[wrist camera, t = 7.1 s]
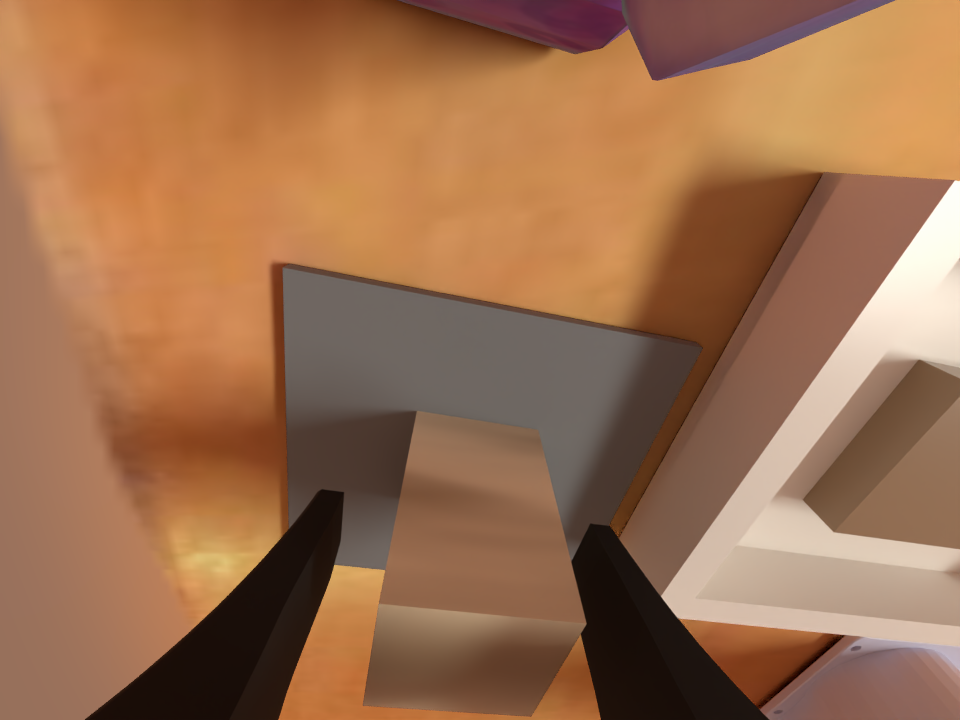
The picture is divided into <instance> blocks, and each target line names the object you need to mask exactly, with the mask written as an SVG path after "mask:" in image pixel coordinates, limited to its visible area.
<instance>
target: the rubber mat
mask: <svg viewBox="0 0 960 720" xmlns="http://www.w3.org/2000/svg"><path fill="white" fill-rule="evenodd" d="M283 302H284V345H285V387H286V430H287V472H288V515H289V528H290V527H291V526H292V525H293V523H294V522H295V521H296V520H297V518H298V517H299V516H300V515H301V513H302V512H303V511H304V509H305V508H306V507H307V505H308V504H309V503H310V501H311V500H312V499H313V497H314V496H315V494H316V493H317V492H318V491H319V490H321V489H324V490H332V491H340V492H344V503H343V518H342V532H341V542H340V546H339V549H338V553H337V557H336V560H335V564H334V565H343V566H352V567H362V568H371V569H381V570H386V565H387V560H388V555H389V550H390V545H391V540H392V535H393V529H394V524H395V519H396V514H397V509H398V504H399V499H400V494H401V489H402V484H403V479H404V474H405V469H406V464H407V459H408V454H409V449H410V444H411V438H412V433H413V428H414V423H415V418H416V413H417V411H422V412H428V413H434V414H441V415H447V416H454V417H460V418H466V419H473V420H479V421H485V422H492V423H498V424H504V425H511V426H517V427H523V428H530V429H536V430H538V431H539V435H540V439H541V443H542V447H543V451H544V455H545V459H546V463H547V467H548V471H549V475H550V479H551V483H552V487H553V491H554V495H555V499H556V503H557V507H558V511H559V515H560V519H561V523H562V527H563V531H564V535H565V539H566V543H567V547H568V551H569V555H570V559H571V561H572V559H573V557H574V555H575V553H576V551H577V549H578V547H579V545H580V543H581V541H582V539H583V537H584V535H585V533H586V531H587V529H588V527H589V525H590V523H591V524H599V525H606V526H609V524H610V522H611V520H612V519H613V517H614V515H615V513H616V511H617V509H618V507H619V505H620V503H621V502H622V500H623V498H624V496H625V494H626V492H627V490H628V488H629V486H630V485H631V483H632V481H633V479H634V477H635V475H636V473H637V471H638V470H639V468H640V466H641V464H642V462H643V460H644V458H645V456H646V454H647V453H648V451H649V449H650V447H651V445H652V443H653V441H654V439H655V437H656V436H657V434H658V432H659V430H660V428H661V426H662V424H663V422H664V420H665V419H666V417H667V415H668V413H669V411H670V409H671V407H672V405H673V404H674V402H675V400H676V398H677V396H678V394H679V392H680V390H681V388H682V387H683V385H684V383H685V381H686V379H687V377H688V375H689V373H690V371H691V370H692V368H693V366H694V364H695V362H696V360H697V358H698V356H699V354H700V353H701V351H702V349H703V348H702V347H701V346H700V345H699V344H698V343H696V342H692V341H687V340H682V339H677V338H672V337H666V336H661V335H656V334H651V333H646V332H640V331H635V330H630V329H625V328H620V327H615V326H609V325H604V324H599V323H594V322H589V321H583V320H578V319H573V318H568V317H563V316H557V315H552V314H547V313H542V312H537V311H532V310H526V309H521V308H516V307H511V306H506V305H500V304H495V303H490V302H485V301H480V300H475V299H469V298H464V297H459V296H454V295H449V294H443V293H438V292H433V291H428V290H423V289H418V288H412V287H407V286H402V285H397V284H392V283H386V282H381V281H376V280H371V279H366V278H361V277H355V276H350V275H345V274H340V273H335V272H329V271H324V270H319V269H314V268H309V267H303V266H298V265H293V264H288V265H286V266H284V267H283Z"/></svg>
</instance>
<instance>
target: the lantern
mask: <svg viewBox="0 0 960 720" xmlns="http://www.w3.org/2000/svg"><path fill="white" fill-rule="evenodd" d="M398 1H401V2H404V3H408V4H411V5H414V6H418V7H421V8H424V9H428V10H431V11H434V12H437V13H441V14H444V15H447V16H451V17H454V18H457V19H461V20H464V21H467V22H470V23H474V24H477V25H480V26H484V27H487V28H490V29H494V30H497V31H500V32H503V33H507V34H510V35H513V36H517V37H520V38H523V39H527V40H530V41H533V42H537V43H540V44H543V45H546V46H550V47H553V48H556V49H560V50H563V51H566V52H570V53H573V54H578V53H583V52H587V51H592V50H596V49H601V48H603V47H604V46H606V45H607V44H609V43H610V42H611V41H613V40H614V39H616V38H617V37H618V36H620V35H621V34H623V33H624V32H625V31H627V30H628V29H629V30H630V32H631V34H632V36H633V38H634V41H635V43H636V45H637V47H638V49H639V52H640V54H641V56H642V58H643V60H644V63H645V65H646V67H647V69H648V72H649V74H650V76H651V78H652V80H657V81H658V80H662V79H667V78H671V77H675V76H679V75H683V74H688V73H692V72H696V71H700V70H705V69H709V68H714V67H718V66H723V65H727V64H732V63H736V62H741V61H746V60H750V59H752V58H755V57H757V56H760V55H762V54H765V53H767V52H770V51H772V50H774V49H777V48H779V47H782V46H784V45H787V44H789V43H792V42H794V41H797V40H799V39H801V38H804V37H806V36H809V35H811V34H814V33H816V32H819V31H821V30H823V29H826V28H828V27H831V26H833V25H836V24H838V23H841V22H843V21H846V20H848V19H850V18H853V17H855V16H858V15H860V14H863V13H865V12H868V11H870V10H873V9H875V8H877V7H880V6H882V5H885V4H887V3H890V2H892V1H895V0H398Z"/></svg>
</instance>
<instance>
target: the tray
mask: <svg viewBox="0 0 960 720" xmlns="http://www.w3.org/2000/svg"><path fill="white" fill-rule="evenodd" d="M619 540H620V541H621V542H622V544H623V545H624V547H625V548H626V549H627V551H628V552H629V554H630V555H631V556H632V558H633V559H634V561H635V562H636V563H637V565H638V566H639V568H640V569H641V570H642V572H643V573H644V574H645V576H646V577H647V579H648V580H649V581H650V583H651V584H652V585H653V587H654V588H655V589H656V591H657V592H658V593H659V595H660V596H661V597H662V599H663V600H664V601H665V603H666V604H667V605H668V606H669V608H670V609H671V610H672V612H673V613H674V614H675V615H676V617H677V618H680V619H690V620H700V621H710V622H720V623H730V624H740V625H750V626H760V627H770V628H780V629H790V630H800V631H810V632H820V633H830V634H840V635H850V636H860V637H870V638H881V639H891V640H901V641H911V642H921V643H931V644H941V645H951V646H960V181H956V180H942V179H926V178H909V177H893V176H877V175H860V174H844V173H827V172H824V173H823V175H822V177H821V178H820V180H819V182H818V184H817V186H816V187H815V189H814V191H813V193H812V195H811V196H810V198H809V200H808V202H807V203H806V205H805V207H804V209H803V211H802V212H801V214H800V216H799V218H798V220H797V221H796V223H795V225H794V227H793V228H792V230H791V232H790V234H789V236H788V237H787V239H786V241H785V243H784V245H783V246H782V248H781V250H780V252H779V253H778V255H777V257H776V259H775V261H774V262H773V264H772V266H771V268H770V269H769V271H768V273H767V275H766V277H765V278H764V280H763V282H762V284H761V286H760V287H759V289H758V291H757V293H756V294H755V296H754V298H753V300H752V302H751V303H750V305H749V307H748V309H747V311H746V312H745V314H744V316H743V318H742V319H741V321H740V323H739V325H738V327H737V328H736V330H735V332H734V334H733V336H732V337H731V339H730V341H729V343H728V344H727V346H726V348H725V350H724V352H723V353H722V355H721V357H720V359H719V361H718V362H717V364H716V366H715V368H714V369H713V371H712V373H711V375H710V377H709V378H708V380H707V382H706V384H705V386H704V387H703V389H702V391H701V393H700V394H699V396H698V398H697V400H696V402H695V403H694V405H693V407H692V409H691V411H690V412H689V414H688V416H687V418H686V419H685V421H684V423H683V425H682V427H681V428H680V430H679V432H678V434H677V436H676V437H675V439H674V441H673V443H672V444H671V446H670V448H669V450H668V452H667V453H666V455H665V457H664V459H663V461H662V462H661V464H660V466H659V468H658V469H657V471H656V473H655V475H654V477H653V478H652V480H651V482H650V484H649V485H648V487H647V489H646V491H645V493H644V494H643V496H642V498H641V500H640V502H639V503H638V505H637V507H636V509H635V510H634V512H633V514H632V516H631V518H630V519H629V521H628V523H627V525H626V527H625V528H624V530H623V532H622V534H621V535H620V537H619Z"/></svg>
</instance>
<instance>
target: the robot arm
mask: <svg viewBox="0 0 960 720" xmlns="http://www.w3.org/2000/svg"><path fill="white" fill-rule="evenodd" d="M343 503H344V492H340V491H332V490H324V489H321V490H319V491H318V492H317V493H316V494H315V496H314V497H313V499H312V500H311V501H310V503H309V504H308V505H307V507H306V508H305V509H304V511H303V512H302V513H301V515H300V516H299V517H298V518H297V520H296V521H295V522H294V523H293V525H292V526H291V527H290V528H289V529H288V531H287V532H286V533H285V534H284V535H283V537H282V538H281V539H280V540H279V541H278V542H277V543H276V545H275V546H274V547H273V548H272V549H271V550H270V551H269V553H268V554H267V555H266V556H265V557H264V558H263V559H262V560H261V562H260V563H259V564H258V565H257V566H256V567H255V568H254V569H253V570H252V571H251V572H250V573H249V574H248V575H247V576H246V577H245V578H244V579H243V581H242V582H241V583H240V584H239V585H238V586H237V587H236V588H235V589H234V590H233V591H232V592H231V593H230V594H229V595H228V596H227V597H226V598H225V599H224V600H223V601H222V602H221V603H220V604H219V605H218V606H217V607H216V608H215V609H214V610H213V611H212V612H211V613H210V614H209V615H207V616H206V617H205V618H204V619H203V620H202V621H201V622H200V623H199V624H198V625H197V626H196V627H195V628H193V629H192V630H191V631H190V632H189V633H188V634H187V635H186V636H185V637H184V638H182V639H181V640H180V641H179V642H178V643H177V644H176V645H175V646H173V647H172V648H171V649H170V650H169V651H168V652H167V653H166V654H164V655H163V656H162V657H161V658H160V659H159V660H158V661H156V662H155V663H154V664H153V665H152V666H150V667H149V668H148V669H147V670H146V671H145V672H143V673H142V674H141V675H140V676H139V677H138V678H136V679H135V680H134V681H133V682H131V683H130V684H129V685H128V686H127V687H125V688H124V689H123V690H121V691H120V692H119V693H118V694H117V695H115V696H114V697H113V698H111V699H110V700H109V701H108V702H106V703H105V704H104V705H103V706H102V707H100V708H99V709H98V710H97V711H95V712H94V713H93V714H91V715H90V716H89V717H88V718H86V719H85V720H278V719H279V716H280V713H281V709H282V706H283V703H284V700H285V696H286V693H287V690H288V688H289V685H290V682H291V679H292V676H293V673H294V671H295V668H296V666H297V663H298V660H299V658H300V655H301V653H302V650H303V648H304V645H305V643H306V640H307V637H308V635H309V632H310V630H311V627H312V625H313V622H314V619H315V617H316V614H317V612H318V609H319V607H320V604H321V601H322V599H323V596H324V594H325V591H326V589H327V586H328V583H329V581H330V578H331V574H332V571H333V567H334V564H335V560H336V557H337V553H338V549H339V546H340V542H341V532H342V518H343ZM571 563H572V567H573V571H574V575H575V579H576V583H577V587H578V591H579V595H580V599H581V603H582V607H583V611H584V615H585V619H586V623H587V624H586V626H585V627H584V629H583V631H582V632H581V637H582V641H583V645H584V649H585V653H586V657H587V661H588V665H589V669H590V673H591V677H592V681H593V685H594V690H595V694H596V698H597V703H598V708H599V712H600V717H601V720H960V646H951V645H941V644H931V643H921V642H911V641H901V640H891V639H881V638H870V637H860V636H850V635H845V636H844V637H843V638H842V639H841V640H840V641H838V642H837V643H836V644H835V645H834V646H833V647H831V648H830V649H829V650H828V651H827V652H826V653H825V654H823V655H822V656H821V657H820V658H819V659H818V660H816V661H815V662H814V663H813V664H812V665H811V666H809V667H808V668H807V669H806V670H805V671H804V672H802V673H801V674H800V675H799V676H798V677H797V678H796V679H794V680H793V681H792V682H791V683H790V684H789V685H787V686H786V687H785V688H784V689H783V690H782V691H780V692H779V693H778V694H777V695H776V696H775V697H773V698H772V699H771V700H770V701H769V702H768V703H766V704H765V705H764V706H763V707H762V708H761V709H760V710H759V709H758V708H757V707H756V706H755V705H754V704H753V703H752V702H751V701H750V700H749V699H748V698H747V697H746V695H745V694H744V693H743V692H742V691H741V690H740V689H739V688H738V687H737V686H736V685H735V684H734V683H733V682H732V681H731V680H730V678H729V677H728V676H727V675H726V674H725V673H724V672H723V671H722V670H721V668H720V667H719V666H718V665H717V664H716V663H715V662H714V661H713V660H712V659H711V657H710V656H709V655H708V654H707V653H706V652H705V651H704V649H703V648H702V647H701V646H700V645H699V644H698V642H697V641H696V640H695V639H694V637H693V636H692V635H691V634H690V633H689V631H688V630H687V629H686V628H685V626H684V625H683V624H682V623H681V622H680V620H679V619H678V618H677V617H676V615H675V614H674V613H673V612H672V610H671V609H670V608H669V606H668V605H667V604H666V603H665V601H664V600H663V599H662V597H661V596H660V595H659V593H658V592H657V591H656V589H655V588H654V587H653V585H652V584H651V583H650V581H649V580H648V579H647V577H646V576H645V574H644V573H643V572H642V570H641V569H640V568H639V566H638V565H637V563H636V562H635V561H634V559H633V558H632V556H631V555H630V554H629V552H628V551H627V549H626V548H625V547H624V545H623V544H622V542H621V541H620V540H619V538H618V537H617V535H616V534H615V533H614V531H613V530H612V529H611V527H610V526H606V525H599V524H591V523H590V525H589V527H588V529H587V531H586V533H585V535H584V537H583V539H582V541H581V543H580V545H579V547H578V549H577V551H576V553H575V555H574V557H573V559H572V561H571Z"/></svg>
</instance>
